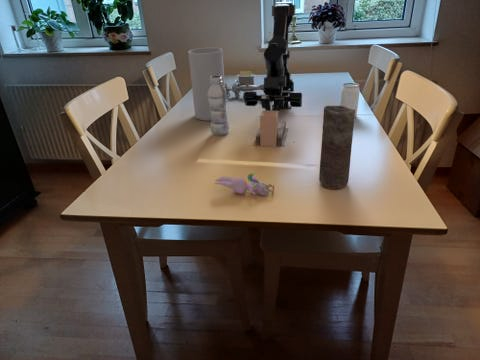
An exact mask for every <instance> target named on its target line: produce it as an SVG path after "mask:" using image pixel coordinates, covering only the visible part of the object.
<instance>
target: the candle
mask: <svg viewBox="0 0 480 360" xmlns="http://www.w3.org/2000/svg"><path fill="white" fill-rule="evenodd" d="M355 119H356V117H355V110H354V109H349V108H346V107H344V106H340V105H326V106H324V108H323V118H322V132H321V133H322V134H321V145H320V146H321V147H320V159H319V174H318V180H319V183H320V184H321V185H322V187H324V189H328V190H329V189H330V190H338V189H341V188H343V187H344V186H347V185H348V184H349V180H350V179H349V177H350V168H351V167H350V166H351V159H352V158H351V155H352V148H353V147H352V144H353V138H354V137H353V136H354V129H355Z"/></svg>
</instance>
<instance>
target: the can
mask: <svg viewBox="0 0 480 360" xmlns="http://www.w3.org/2000/svg"><path fill="white" fill-rule="evenodd" d="M360 90H361V89H360V84H358V83H354V82H346V83H343V84H342V87H341V92H340V98H339V99H340V100H339V106H344V107H346V108H349V109H354V110H355V118H356V117H357V115H358V114H357V113H358V106H359V100H360V99H359V98H360Z"/></svg>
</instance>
